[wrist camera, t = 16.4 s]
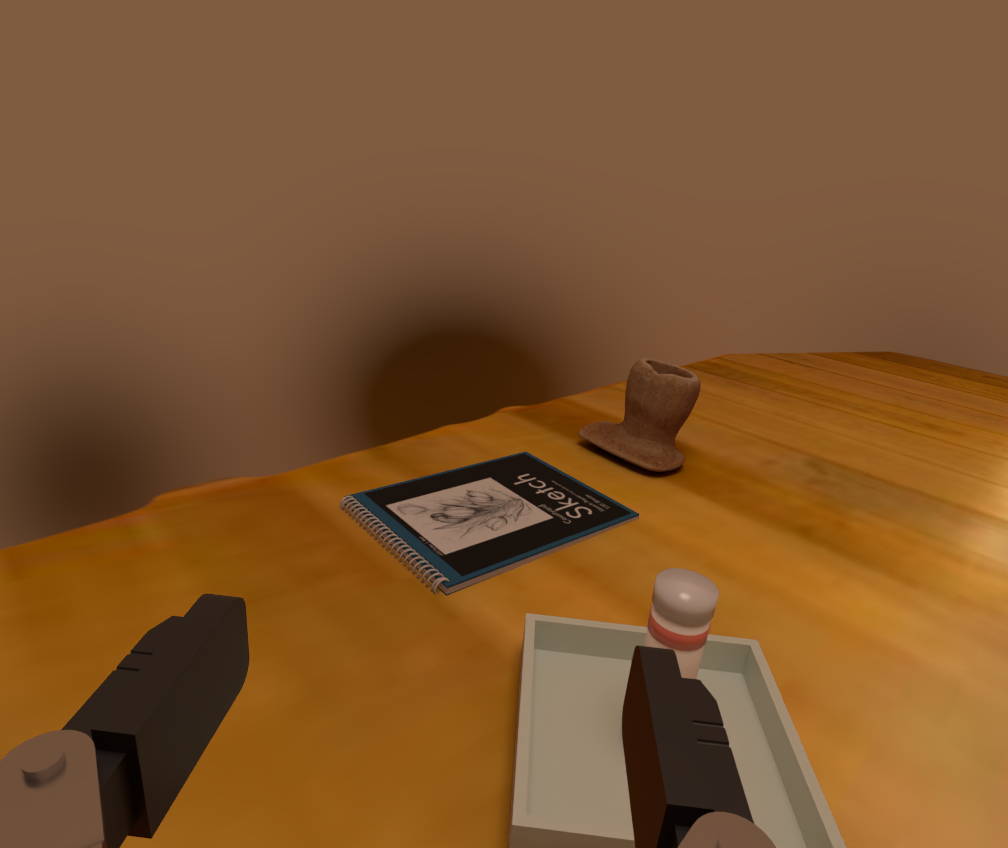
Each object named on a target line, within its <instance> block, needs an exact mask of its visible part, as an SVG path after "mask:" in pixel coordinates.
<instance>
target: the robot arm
mask: <svg viewBox="0 0 1008 848" xmlns="http://www.w3.org/2000/svg"><path fill="white" fill-rule="evenodd" d="M248 666H249V647H248V633H247V618H246V606H245V602H244V600H243V599H242V598H240V597H231V596H223V595H214V594H203V595H202V596H201V597H200V598H199V599H198V600H197V601H196V602H195V604H194V605H193V606H192V607H191V608H190V610H189V611H188V612H187V613H186V614H185V616H184V617H178V616H172V617H170V618H168V619H167V620H165V621H164V622H162V623H160V624H159V625H157V626H156V627H154V628H152V629H151V630H149V631H148V632H147V633H146V634H145V635H144V636H143V638H142V639H141V640H140V641H139V642H138V643H137V644H136V645H135V647H134V648H133V649H132V650H131V653H130V655H127V656H126V657H125V658H124V659H123V660H122V661H121V663H120V664H119V665H118V666H117V669H116V671H113V672H112V673H111V674H110V675H109V676H108V677H107V678H106V680H105V681H104V682H103V683H102V684H101V685H100V686H99V688H98V689H97V690H96V691H95V692H94V693H93V694H92V696H91V697H90V698H89V699H88V700H87V701H86V702H85V704H84V705H83V706H82V707H81V708H80V709H79V710H78V711H77V713H76V714H75V715H74V716H73V717H72V718H71V719H70V721H69V722H68V723H67V724H66V725H65V726H64V727H63V729H62V730H58V731H52V732H48V733H45V734H42V735H39V736H36V737H34V738H32V739H30V740H27V741H25V742H24V743H22V744H20V745H19V746H17V747H16V748H14V749H13V750H12V751H10V752H9V753H8V754H7V755H6V756H5V757H4V758H3V759H2V760H1V761H0V848H120V846H121V844H122V843H123V841H124V840H125V838H126V837H127V835H128V836H136V837H143V838H152V837H153V835H154V833H155V832H156V830H157V828H158V827H159V825H160V823H161V822H162V820H163V818H164V817H165V815H166V813H167V812H168V810H169V808H170V807H171V805H172V803H173V802H174V800H175V798H176V797H177V795H178V793H179V792H180V790H181V788H182V787H183V785H184V783H185V782H186V780H187V779H188V777H189V775H190V774H191V772H192V770H193V769H194V767H195V765H196V764H197V762H198V760H199V759H200V757H201V755H202V754H203V752H204V750H205V749H206V747H207V745H208V744H209V742H210V740H211V739H212V737H213V735H214V734H215V732H216V730H217V729H218V727H219V725H220V724H221V722H222V720H223V719H224V717H225V715H226V714H227V712H228V710H229V709H230V707H231V705H232V704H233V702H234V700H235V699H236V697H237V695H238V694H239V692H240V690H241V688H242V686H243V684H244V681H245V679H246V675H247V671H248ZM723 725H724V723H723V720H722V717H721V714H720V710H719V707H718V704H717V701H716V699H715V698H714V697H713V696H712V694H711V693H710V692H709V691H708V689H707V688H706V687H705V686H704V684H703V683H702V682H701V680H698V679H689V678H682V677H681V673H680V669H679V665H678V661H677V657H676V653H675V651H674V650H672V649H664V648H655V647H647V646H638V645H637V646H636V647H635V649H634V653H633V657H632V662H631V667H630V673H629V678H628V683H627V688H626V693H625V698H624V703H623V711H622V740H623V749H624V757H625V765H626V774H627V782H628V791H629V799H630V807H631V816H632V824H633V832H634V841H635V848H776V846H775V845H774V843H773V842H772V841H771V839H770V838H769V837H768V836H767V835H766V834H765V833H764V832H763V831H762V830H761V829H760V828H759V827H757V826H756V825H755V824H754V821H753V818H752V815H751V812H750V809H749V805H748V802H747V799H746V795H745V792H744V789H743V786H742V782H741V779H740V776H739V773H738V769H737V766H736V763H735V759H734V756H733V753H732V750H731V748H730V747H729V740H728V736H727V733H726V730H725V728H724V727H723Z"/></svg>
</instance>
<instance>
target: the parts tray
mask: <svg viewBox="0 0 1008 848" xmlns="http://www.w3.org/2000/svg"><path fill="white" fill-rule="evenodd" d="M647 628H648V627H641V626H632V625H624V624H615V623H607V622H598V621H590V620H581V619H572V618H564V617H555V616H547V615H538V614H530V613H526V619H525V627H524V636H523V644H522V654H521V668H520V682H519V696H518V711H517V725H516V739H515V753H514V767H513V781H512V796H511V810H510V824H509V838H508V848H635V841H634V832H633V824H632V816H631V807H630V799H629V791H628V782H627V774H626V765H625V757H624V749H623V740H622V711H623V703H624V698H625V693H626V688H627V683H628V678H629V673H630V667H631V662H632V657H633V653H634V649H635V647H636V646H637V645H638V646H644V643H645V638H646V633H647ZM697 679H698V680H701V682H702V683H703V684H704V686H705V687H706V688H707V689H708V691H709V692H710V693H711V694H712V696H713V697H714V698H715V699H716V701H717V704H718V707H719V710H720V714H721V717H722V720H723V723H724V725H723V727H724V728H725V730H726V733H727V736H728V740H729V747H730V748H731V750H732V753H733V756H734V759H735V763H736V766H737V769H738V773H739V776H740V779H741V782H742V786H743V789H744V792H745V795H746V799H747V802H748V805H749V809H750V812H751V815H752V818H753V821H754V824H755V825H756V826H757V827H759V828H760V829H761V830H762V831H763V832H764V833H765V834H766V835H767V836H768V837H769V838H770V839H771V841H772V842H773V843H774V845H775V846H776V848H846V846H845V843H844V841H843V839H842V836H841V834H840V832H839V829H838V827H837V825H836V822H835V820H834V818H833V815H832V813H831V811H830V808H829V806H828V804H827V801H826V799H825V797H824V794H823V792H822V790H821V787H820V785H819V783H818V780H817V778H816V776H815V773H814V771H813V769H812V766H811V764H810V762H809V759H808V757H807V755H806V752H805V750H804V748H803V745H802V743H801V741H800V738H799V736H798V734H797V731H796V729H795V727H794V724H793V722H792V720H791V717H790V715H789V713H788V710H787V708H786V706H785V703H784V701H783V699H782V697H781V694H780V692H779V690H778V687H777V685H776V683H775V680H774V678H773V676H772V673H771V671H770V669H769V666H768V664H767V662H766V659H765V657H764V655H763V652H762V650H761V648H760V645H759V643H758V641H757V640H752V639H744V638H735V637H726V636H718V635H709V634H708V637H707V641H706V644H705V646H704V650H703V654H702V658H701V662H700V667H699V671H698V675H697Z"/></svg>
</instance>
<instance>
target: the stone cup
mask: <svg viewBox="0 0 1008 848" xmlns="http://www.w3.org/2000/svg"><path fill="white" fill-rule="evenodd" d="M699 392H700V380H699V378H698V377H697V376H696V375H695V374H694V373H693V372H691V371H689V370H686V369H684V368H681V367H678V366H675V365H672V364H669V363H666V362H660V361H658V360H655V359H650V358H642V359H640V360H638V361H637V362H636V363H635V364H634V365H633V367H632V368H631V370H630V373H629V376H628V380H627V386H626V394H625V416H624V421H623V422H622V423H620V424H618V423H612V422H604V421H601V422H594V423H591V424H589V425H587V426H584V427H583V428H582V429H580V431H579V433H578V435H579V436H580V437H581V438H583V439H585V440H587V441H588V442H590V443H592V444H594V445H596V446H597V447H599V448H601V449H603V450H605V451H607V452H609V453H611V454H613V455H615V456H617V457H619V458H621V459H623V460H626V461H628V462H630V463H632V464H635V465H637V466H639V467H641V468H644V469H647V470H650V471H656V472H664V471H670V470H674V469H676V468H678V467H680V466H681V465H682V464H683V463H684V461H685V457H684V456H683V455H682V454H681V453H680V452H679V451H678V450H677V449H676V448H675V446H674V442H675V437H676V435H677V433H678V431H679V430H680V428H681V427H682V425H683V424H684V422H685V421H686V419H687V418H688V416H689V415H690V413H691V411H692V409H693V407H694V405H695V403H696V400H697V398H698V396H699Z"/></svg>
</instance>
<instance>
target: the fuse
mask: <svg viewBox="0 0 1008 848" xmlns="http://www.w3.org/2000/svg"><path fill="white" fill-rule="evenodd" d="M718 595H719V592H718V589H717V587H716V585H715V584H714V583H713V582H712V581H711V580H709V579H708V578H707V577H705V576H703V575H701V574H699V573H697V572H694V571H691V570H686V569H679V568H673V569H667V570H664V571H661V572H660V573H659V574H658V575H657V577H656V581H655V586H654V591H653V596H652V602H653V604H652V606H651V610H650V615H649V620H648V628H647V633H646V638H645V643H644V646H647V647H655V648H664V649H672V650H674V651H675V653H676V657H677V661H678V665H679V669H680V673H681V677H682V678H689V679H697V675H698V671H699V667H700V662H701V658H702V654H703V650H704V646H705V644H706V641H707V637H708V633H709V629H710V621H711V619H712V618H713V616H714V612H715V608H716V604H717V600H718Z"/></svg>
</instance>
